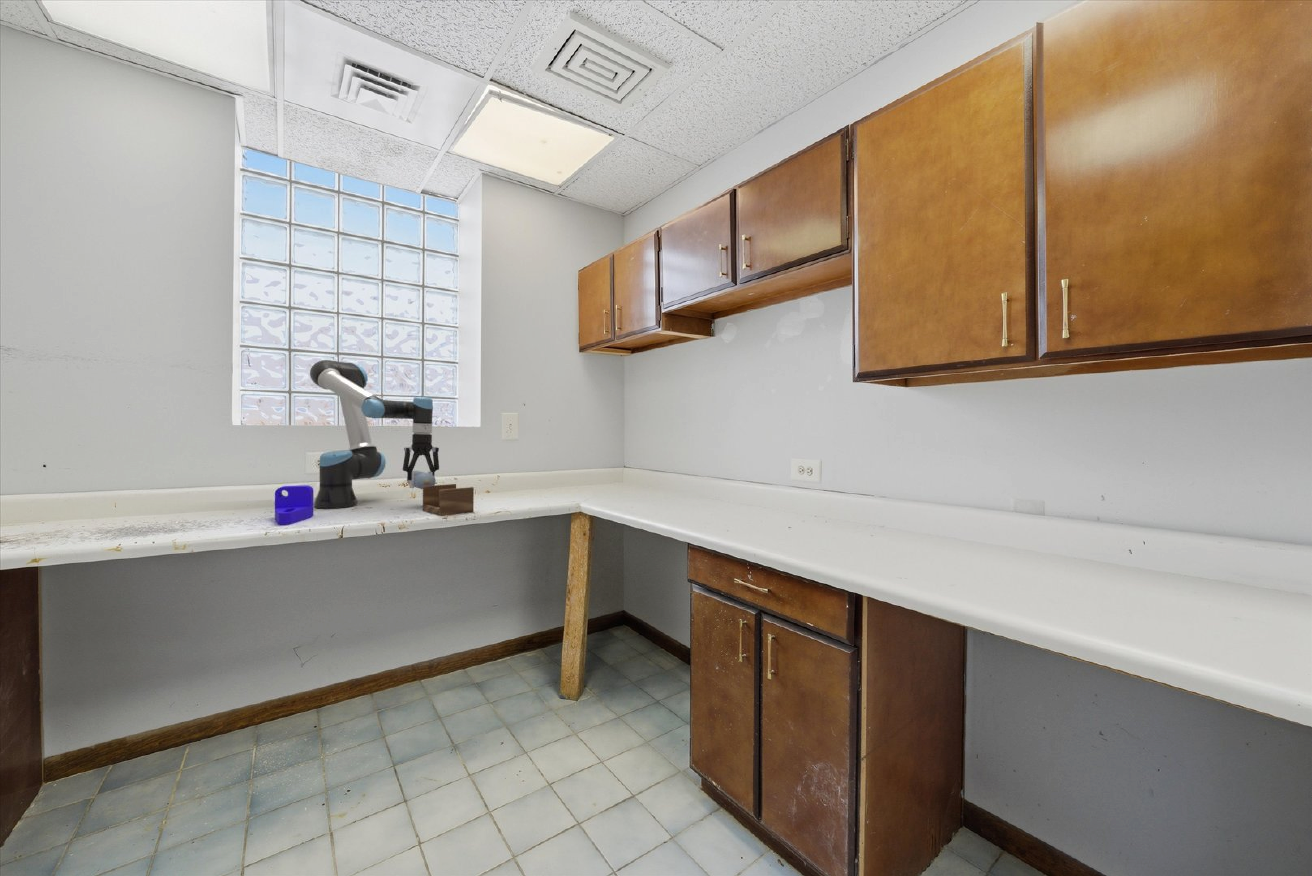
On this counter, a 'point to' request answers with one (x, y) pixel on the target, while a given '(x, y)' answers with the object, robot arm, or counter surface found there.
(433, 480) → the towel roll
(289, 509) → the bracket
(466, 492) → the cradle
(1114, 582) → the counter surface
